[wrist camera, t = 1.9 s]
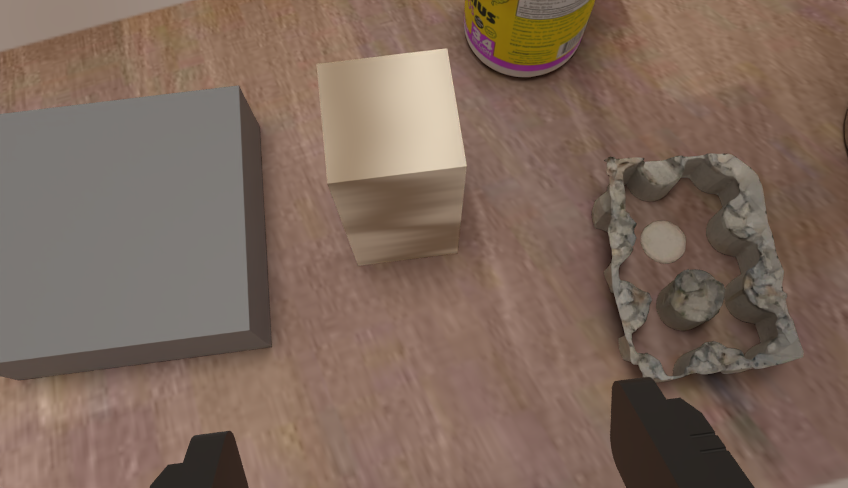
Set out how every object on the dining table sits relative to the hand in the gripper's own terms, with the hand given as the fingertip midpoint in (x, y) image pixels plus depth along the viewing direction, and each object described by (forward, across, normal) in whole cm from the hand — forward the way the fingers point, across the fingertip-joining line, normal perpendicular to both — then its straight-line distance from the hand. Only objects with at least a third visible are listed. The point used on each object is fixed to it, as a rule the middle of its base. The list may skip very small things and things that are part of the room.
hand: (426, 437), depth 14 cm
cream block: (+20, 0, +3) cm, 21 cm away
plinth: (+20, +13, +4) cm, 24 cm away
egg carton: (+17, -13, +7) cm, 23 cm away
